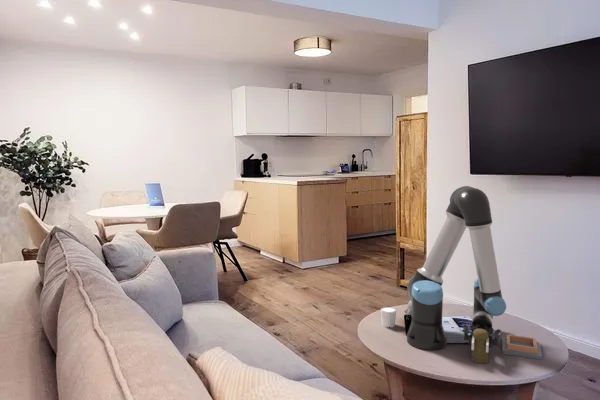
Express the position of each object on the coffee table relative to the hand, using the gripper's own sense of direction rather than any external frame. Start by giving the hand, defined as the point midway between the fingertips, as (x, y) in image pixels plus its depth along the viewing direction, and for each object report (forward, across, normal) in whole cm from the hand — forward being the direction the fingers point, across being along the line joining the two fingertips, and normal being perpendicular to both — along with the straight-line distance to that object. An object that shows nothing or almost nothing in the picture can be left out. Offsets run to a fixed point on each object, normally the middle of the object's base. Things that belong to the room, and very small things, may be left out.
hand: (479, 347), depth 153 cm
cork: (-5, 0, -7) cm, 9 cm away
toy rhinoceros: (-40, +27, -7) cm, 49 cm away
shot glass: (-25, +38, -7) cm, 46 cm away
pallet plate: (-20, -14, -7) cm, 26 cm away
